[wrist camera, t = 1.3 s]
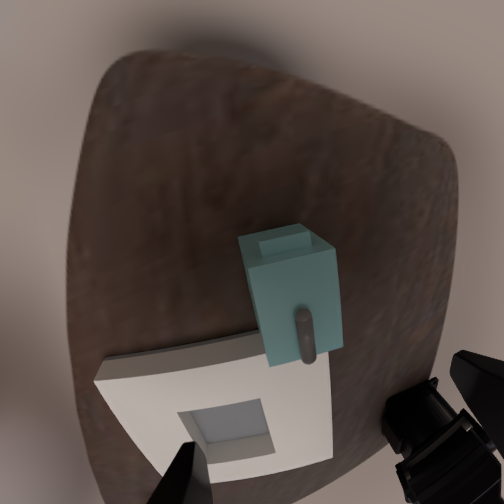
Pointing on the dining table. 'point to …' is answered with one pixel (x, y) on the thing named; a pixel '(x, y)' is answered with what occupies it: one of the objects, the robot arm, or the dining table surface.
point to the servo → (293, 293)
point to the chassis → (222, 405)
